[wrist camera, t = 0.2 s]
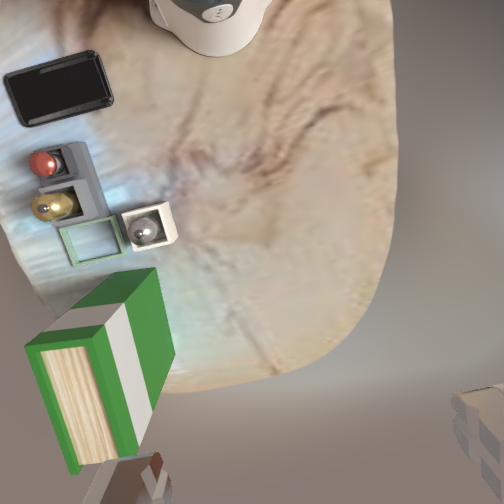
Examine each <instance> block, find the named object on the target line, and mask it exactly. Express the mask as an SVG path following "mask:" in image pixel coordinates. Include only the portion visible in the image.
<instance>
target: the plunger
mask: <svg viewBox="0 0 504 504" xmlns="http://www.w3.org/2000/svg"><path fill="white" fill-rule="evenodd" d="M30 167H31V169H32V170H33V172H34V173H35V174H37V175H39V176H51V175H53V174H60V173H62V172H63V171H64V169H65V162H64V160H63V158H62V157H61V156H59V155H57V154H49V153H47V152H36V153H34V154H33V155H32V156H31V157H30Z"/></svg>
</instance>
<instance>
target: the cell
mask: <svg viewBox="0 0 504 504" xmlns="http://www.w3.org/2000/svg"><path fill="white" fill-rule="evenodd" d="M31 209H32V212H33V214H34V215H35V216H36V217H37V218H38V219H39V220H42V221H52V220H55V219H59V218H62V217H65V216H69V215H72V214H76V213H79V212H82V211H83V210H82V208H81V205H80V202H79V200H78V197H77V194H76V191H75V190H72V191H65V192H59V193H52V194H46V195H39V196H37V197H35V198H34V199H33V201H32V203H31Z"/></svg>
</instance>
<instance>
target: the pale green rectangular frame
mask: <svg viewBox="0 0 504 504" xmlns="http://www.w3.org/2000/svg"><path fill="white" fill-rule="evenodd" d="M107 220H111V223H112V226H113V229H114V232H115V235H116V237H117V240H118V243H119V246H120V249H121V253H117V254H113V255H108V256H104V257H100V258H95V259H91V260H87V261H82V262H79V260H78V258H77V255H76V253H75V250H74V248H73V245H72V242H71V240H70V237H69V235H68V232H67V230H68V229H73V228H77V227H81V226H85V225H90V224H94V223H98V222H102V221H107ZM59 231H60V234H61V236H62V239H63V241H64V244H65V246H66V249H67V251H68V254H69V256H70V259H71V261H72V264H73V266H74V267H79V266H83V265H87V264H92V263H96V262H101V261H105V260H109V259H114V258H118V257H122V256H126V255H128V251H127V248H126V245H125V242H124V239H123V237H122V234H121V231H120V228H119V225H118V222H117V219H116V216H115V215H113V216H108V217H105V218H100V219H96V220H92V221H88V222H83V223H79V224H75V225H71V226H66V227H62V228H59Z"/></svg>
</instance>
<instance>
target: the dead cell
mask: <svg viewBox="0 0 504 504" xmlns="http://www.w3.org/2000/svg"><path fill="white" fill-rule="evenodd" d="M163 231H164V227H163V223H162V220H161V217H160V214H157V213H151V214H149V215H147V216H145V217H143V218H141V219H139V220H137V221H135V222H133V223H132V224H130V225H129V227H128V229H127V235H128V238H129V240H130V241H131V242H132V243H133V244H135V245H139V246H142V245H146V244H148V243H149V242H150V241H151V240H153V239H154V238H155V237H156V236H158V235H159V234H160V233H162V232H163Z"/></svg>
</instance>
